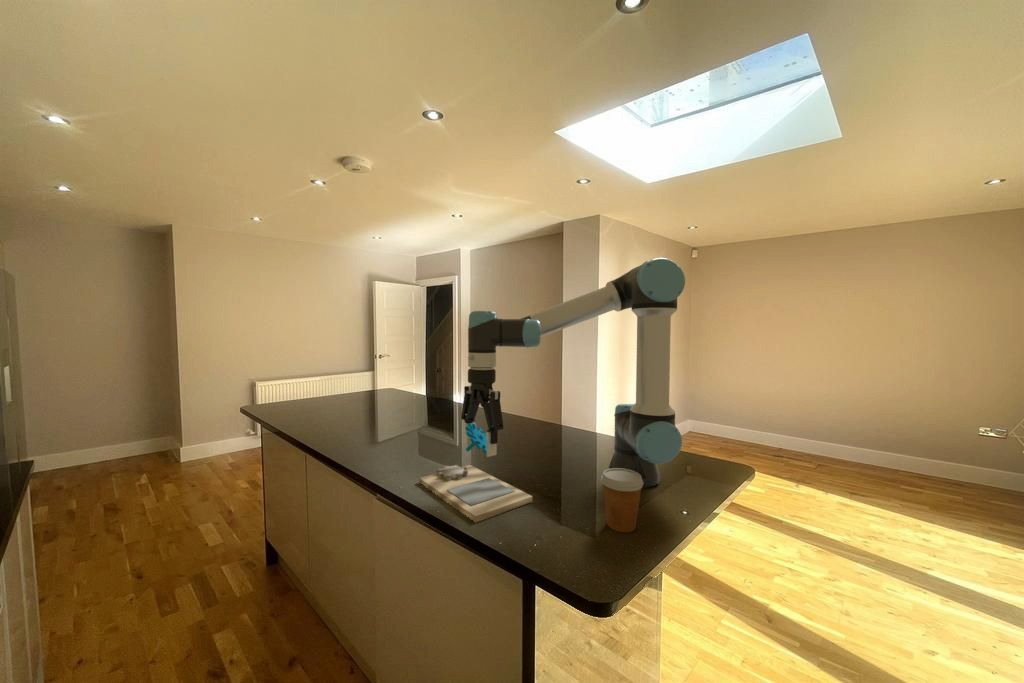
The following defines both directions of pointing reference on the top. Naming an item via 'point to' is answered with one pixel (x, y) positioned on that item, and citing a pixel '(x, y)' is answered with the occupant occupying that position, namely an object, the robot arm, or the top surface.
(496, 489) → the carrier board
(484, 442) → the gear
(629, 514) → the disposable coffee cup
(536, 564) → the top surface
